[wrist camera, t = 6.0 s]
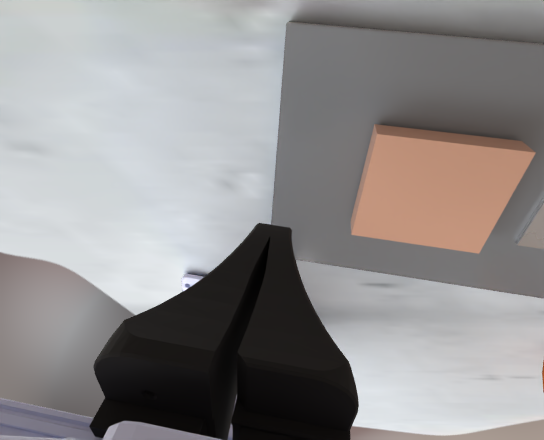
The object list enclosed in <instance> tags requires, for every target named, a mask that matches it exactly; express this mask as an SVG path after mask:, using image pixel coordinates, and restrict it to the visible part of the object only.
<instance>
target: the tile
mask: <svg viewBox="0 0 544 440" xmlns="http://www.w3.org/2000/svg"><path fill="white" fill-rule="evenodd" d="M535 153H536V152H534V151H533V150H532V149H531V148H530V147H528V146H527V145H526V144H525V143H524V142H522V141H517V140H509V139H500V138H491V137H482V136H474V135H465V134H456V133H448V132H439V131H430V130H421V129H413V128H404V127H395V126H386V125H378V124H374V128H373V132H372V136H371V140H370V144H369V148H368V152H367V157H366V161H365V165H364V169H363V173H362V177H361V181H360V185H359V189H358V193H357V197H356V201H355V205H354V209H353V213H352V217H351V235H356V236H363V237H370V238H377V239H383V240H390V241H397V242H404V243H410V244H417V245H424V246H431V247H438V248H444V249H451V250H458V251H465V252H471V253H478V254H479V253H480V251H481V249H482V247H483V246H484V244H485V242H486V240H487V238H488V237H489V235H490V233H491V231H492V230H493V228H494V226H495V224H496V223H497V221H498V219H499V217H500V215H501V214H502V212H503V210H504V208H505V207H506V205H507V203H508V201H509V199H510V198H511V196H512V194H513V192H514V191H515V189H516V187H517V185H518V183H519V182H520V180H521V178H522V176H523V175H524V173H525V171H526V169H527V168H528V166H529V164H530V162H531V160H532V159H533V157H534V155H535Z"/></svg>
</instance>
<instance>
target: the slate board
mask: <svg viewBox="0 0 544 440" xmlns="http://www.w3.org/2000/svg"><path fill="white" fill-rule="evenodd" d="M374 124H378V125H386V126H395V127H404V128H413V129H421V130H430V131H439V132H448V133H456V134H465V135H474V136H482V137H491V138H500V139H509V140H517V141H522V142H524V143H525V144H526V145H527V146H528V147H530V148H531V149H532V150H533V151H534V152H536V153H535V155H534V157H533V159H532V160H531V162H530V164H529V166H528V168H527V169H526V171H525V173H524V175H523V176H522V178H521V180H520V182H519V183H518V185H517V187H516V189H515V191H514V192H513V194H512V196H511V198H510V199H509V201H508V203H507V205H506V207H505V208H504V210H503V212H502V214H501V215H500V217H499V219H498V221H497V223H496V224H495V226H494V228H493V230H492V231H491V233H490V235H489V237H488V238H487V240H486V242H485V244H484V246H483V247H482V249H481V251H480V253H479V254H478V253H471V252H465V251H458V250H451V249H444V248H438V247H431V246H424V245H417V244H410V243H404V242H397V241H390V240H383V239H377V238H370V237H363V236H356V235H351V217H352V213H353V209H354V205H355V201H356V197H357V193H358V189H359V185H360V181H361V177H362V173H363V169H364V165H365V161H366V157H367V152H368V148H369V144H370V140H371V136H372V132H373V128H374ZM543 197H544V44H542V43H531V42H519V41H508V40H496V39H485V38H473V37H462V36H451V35H439V34H428V33H416V32H405V31H393V30H382V29H371V28H359V27H348V26H336V25H325V24H313V23H302V22H290V21H289V22H288V23H287V24H286V37H285V50H284V64H283V77H282V90H281V103H280V116H279V130H278V143H277V156H276V169H275V182H274V196H273V209H272V222H271V225H276V226H283V227H290V228H291V230H292V246H293V252H294V256H295V259H296V260H302V261H308V262H315V263H321V264H328V265H334V266H340V267H347V268H353V269H359V270H366V271H372V272H378V273H385V274H391V275H398V276H404V277H410V278H417V279H423V280H429V281H436V282H442V283H448V284H455V285H461V286H468V287H474V288H480V289H487V290H493V291H499V292H506V293H512V294H519V295H525V296H531V297H538V298H544V249H539V248H532V247H526V246H519V245H517V244H516V243H515V241H516V239H517V238H518V236H519V235H520V233H521V231H522V230H523V228H524V227H525V225H526V224H527V222H528V220H529V219H530V217H531V216H532V214H533V212H534V211H535V209H536V208H537V206H538V204H539V203H540V201H541V200H542V198H543Z"/></svg>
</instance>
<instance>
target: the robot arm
mask: <svg viewBox="0 0 544 440" xmlns="http://www.w3.org/2000/svg"><path fill="white" fill-rule="evenodd" d="M189 284H190V285H189ZM182 288H183V292H181V293H180V294H178V295H176V296H175V297H173V298H171V299H169V300H167V301H165V302H164V303H162V304H160V305H158V306H156V307H154V308H152V309H149V310H147V311H145V312H142V313H140V314H138V315H136V316H133V317H131V318H129V319H126V320H124V321H123V323H122V324H121V325H120V326H119V328H118V329H117V330H116V331H115V333H114V334H113V335H112V337H111V338H110V339H109V341H108V342H107V344H106V345H105V347H104V348H103V350H102V351H101V353H100V354H99V356H98V357H97V359H96V361H95V364H94V371H95V375H96V377H97V380H98V382H99V384H100V386H101V389H102V391H103V393H104V395H105V399H104V401H103V403H102V405H101V407H100V408H99V410H98V412H97V413H96V415H95V417H94V418H92V417H87V416H82V415H78V414H73V413H69V412H64V411H59V410H54V409H49V408H45V407H41V406H36V405H31V404H27V403H22V402H17V401H12V400H8V399H3V398H0V440H350V429H351V426H352V424H353V422H354V419H355V417H356V415H357V413H358V406H359V404H358V395H357V390H356V385H355V381H354V377H353V374H352V370H351V367H350V364H349V361H348V360H347V359H346V357H345V356H344V355H343V353H342V352H341V351H340V349H339V348H338V347H337V345H336V344H335V343H334V341H333V340H332V338H331V337H330V335H329V334H328V332H327V331H326V329H325V327H324V326H323V324H322V322H321V320H320V319H319V317H318V315H317V313H316V312H315V310H314V308H313V306H312V304H311V302H310V300H309V297H308V295H307V293H306V291H305V288H304V286H303V283H302V280H301V277H300V274H299V271H298V268H297V264H296V260H295V256H294V252H293V246H292V230H291V228H290V227H283V226H276V225H269V224H263V223H259V224H257V225H256V226H255V227H254V229H253V230H252V231H251V233H250V234H249V235H248V236H247V237H246V239H245V240H244V241H243V242H242V243H241V244H240V245H239V246H238V247H237V248H236V249H235V250H234V251H233V252H232V253H231V254H230V255H229V256H228V257H227V258H226V259H225V260H224V261H223V262H222V263H221V264H220V265H218V266H217V267H216V268H215V269H214V270H213V271H211V272H210V273H209V274H208V275H206V276H205V277H203V276H197V275H191V274H185V275H183V277H182Z"/></svg>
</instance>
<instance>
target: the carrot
mask: <svg viewBox="0 0 544 440" xmlns="http://www.w3.org/2000/svg"><path fill="white" fill-rule="evenodd" d="M542 376H543V391H544V362H543V371H542Z"/></svg>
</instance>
